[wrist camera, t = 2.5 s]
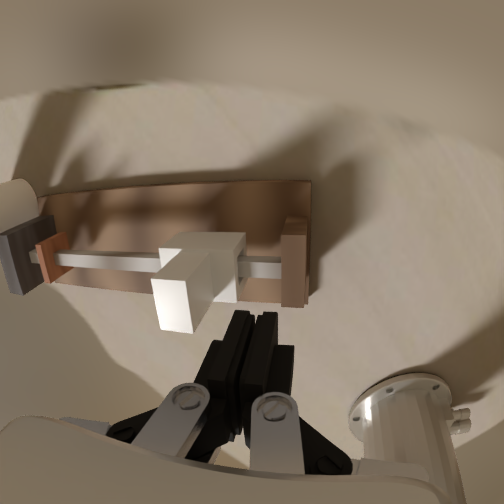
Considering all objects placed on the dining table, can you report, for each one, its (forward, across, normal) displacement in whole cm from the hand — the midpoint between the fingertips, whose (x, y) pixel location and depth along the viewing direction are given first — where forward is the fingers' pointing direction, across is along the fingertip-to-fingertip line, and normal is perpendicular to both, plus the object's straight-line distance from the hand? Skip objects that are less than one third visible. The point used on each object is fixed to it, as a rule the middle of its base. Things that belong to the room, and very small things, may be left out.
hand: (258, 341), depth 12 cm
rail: (+14, +12, +1) cm, 18 cm away
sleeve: (+11, +5, +1) cm, 12 cm away
